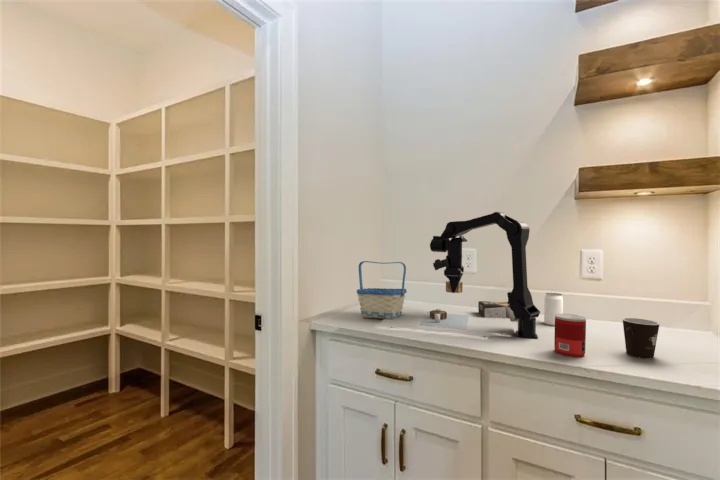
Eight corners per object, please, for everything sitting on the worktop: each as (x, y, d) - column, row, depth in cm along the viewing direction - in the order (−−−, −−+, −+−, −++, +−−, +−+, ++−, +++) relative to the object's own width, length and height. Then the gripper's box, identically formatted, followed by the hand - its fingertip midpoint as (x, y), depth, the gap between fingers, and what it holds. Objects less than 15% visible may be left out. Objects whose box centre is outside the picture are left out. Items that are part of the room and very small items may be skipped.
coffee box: (524, 305, 147) (484, 304, 147) (524, 321, 147) (484, 320, 148) (515, 301, 156) (478, 300, 157) (515, 316, 156) (477, 315, 157)
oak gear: (461, 293, 142) (461, 283, 142) (444, 292, 145) (445, 282, 145) (462, 291, 149) (463, 281, 149) (446, 290, 151) (446, 280, 151)
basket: (410, 316, 153) (411, 261, 153) (396, 324, 139) (396, 263, 139) (367, 311, 163) (367, 259, 163) (349, 318, 149) (349, 261, 148)
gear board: (466, 332, 128) (466, 321, 128) (418, 328, 134) (418, 316, 134) (468, 318, 151) (468, 308, 151) (427, 314, 157) (428, 305, 157)
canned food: (589, 358, 103) (590, 320, 103) (559, 356, 104) (559, 318, 104) (579, 350, 110) (579, 314, 110) (550, 348, 112) (551, 312, 112)
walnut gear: (445, 320, 142) (445, 312, 142) (428, 318, 144) (428, 310, 144) (447, 316, 148) (447, 308, 148) (431, 315, 150) (431, 307, 150)
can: (561, 327, 138) (561, 295, 138) (542, 324, 142) (543, 294, 142) (563, 323, 143) (564, 293, 143) (545, 321, 147) (546, 292, 147)
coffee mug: (642, 350, 111) (642, 317, 111) (666, 360, 102) (667, 324, 102) (605, 350, 110) (605, 317, 110) (626, 360, 102) (627, 324, 102)
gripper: (437, 251, 158) (437, 287, 158) (431, 253, 140) (430, 293, 141) (464, 252, 154) (463, 288, 154) (460, 254, 137) (460, 295, 137)
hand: (454, 291), depth 147 cm, fingers closed on oak gear, 6 cm apart
